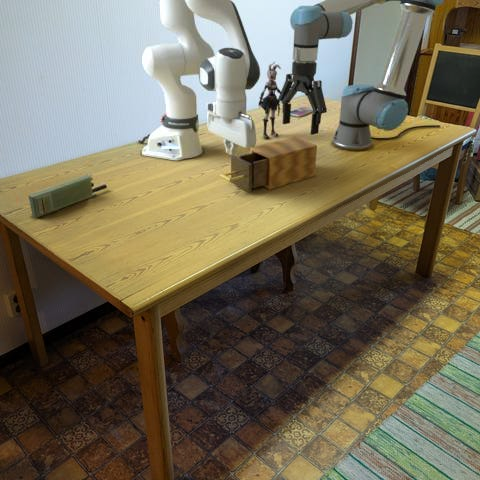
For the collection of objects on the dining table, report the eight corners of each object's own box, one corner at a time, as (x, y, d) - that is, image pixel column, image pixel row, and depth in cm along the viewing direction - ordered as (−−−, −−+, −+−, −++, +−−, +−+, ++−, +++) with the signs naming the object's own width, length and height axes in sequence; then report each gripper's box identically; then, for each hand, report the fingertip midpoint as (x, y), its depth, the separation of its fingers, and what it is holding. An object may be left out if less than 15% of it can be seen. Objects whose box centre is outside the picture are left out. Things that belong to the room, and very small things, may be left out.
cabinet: (269, 189, 162) (271, 157, 157) (249, 178, 169) (250, 147, 164) (314, 175, 172) (317, 145, 167) (293, 166, 180) (295, 136, 174)
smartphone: (316, 109, 243) (299, 115, 233) (316, 111, 244) (299, 117, 234) (303, 106, 247) (286, 112, 237) (303, 108, 248) (285, 114, 237)
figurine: (261, 141, 202) (264, 63, 188) (251, 138, 206) (252, 61, 192) (286, 134, 211) (290, 59, 196) (276, 131, 215) (279, 57, 200)
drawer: (233, 196, 155) (233, 169, 150) (216, 186, 161) (215, 159, 157) (293, 178, 167) (294, 152, 163) (274, 170, 174) (276, 144, 170)
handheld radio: (30, 215, 144) (102, 188, 161) (37, 219, 142) (109, 191, 159) (26, 193, 140) (100, 168, 157) (33, 197, 138) (107, 171, 155)
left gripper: (262, 114, 141) (260, 161, 148) (220, 99, 155) (220, 143, 162) (244, 118, 138) (243, 166, 144) (202, 102, 152) (204, 147, 159)
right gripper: (343, 66, 149) (335, 136, 160) (287, 54, 167) (283, 117, 177) (324, 69, 145) (318, 140, 156) (269, 56, 163) (267, 121, 173)
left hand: (231, 154), depth 153 cm, fingers closed
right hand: (299, 128), depth 166 cm, fingers open, 13 cm apart
